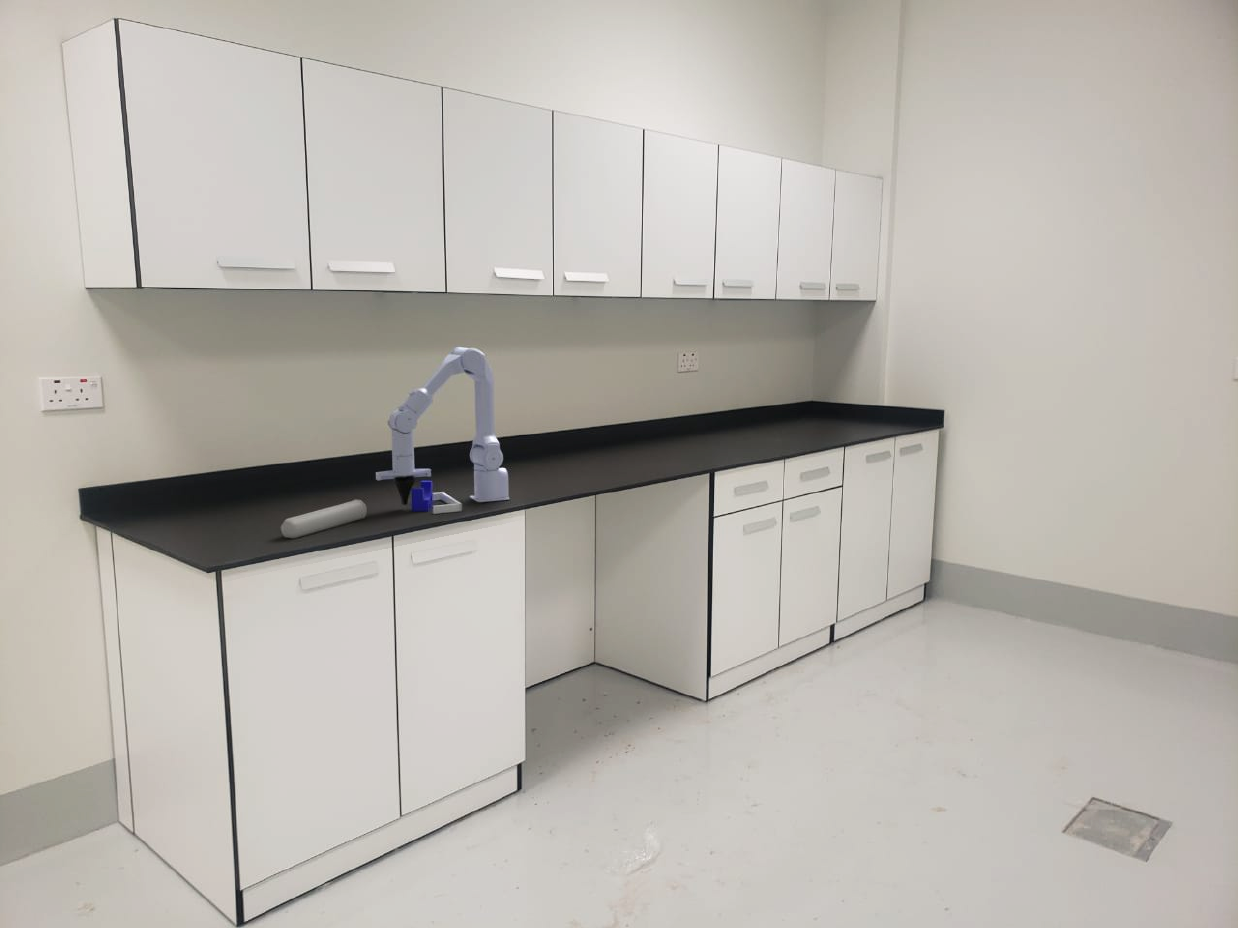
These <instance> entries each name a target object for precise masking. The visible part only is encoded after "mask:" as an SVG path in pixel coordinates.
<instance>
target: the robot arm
mask: <svg viewBox="0 0 1238 928" xmlns="http://www.w3.org/2000/svg"><path fill="white" fill-rule="evenodd" d="M493 372H494V371H493V370H492V368H491V366H490V364H489V363H488V360H487V356H486V354H485V353H484V352H482V351H480V350H479V349H478V348H475V347H470V348H469V347H463V346H457V347H455V348H453V349H452V350H451V352H450V353H449V354H448V355H446V356H445V358H444V360H443V361H442V363H441V364H440V365H439V366H438V368H437V369H436V370H435V371H434V373H433V375H432V376H431V377H430V378H429V379H428V381H427V382H425V384H424V386H423V387H422V388H416V389H414V390H411V391H410V392H409V393H408V394H409V396H408V397H407V398H406V400H405V401H404V402H403V403H402V404H399V406H398V407H397V408H398V409H397V410H394V411H393V412H391V414H390V415H389V419H388V420H387V425H388V427H389V429H391V455H392V456H391V458H392V459H391V461H392V470H385V471H377V472H375V480H377V481H382V480H392V482H394V484H395V487H396V488H397V491H398V493H399V496H400V500H401V504H402V505H404V506H407V505H408V502H409V498H410V494H411V492H412V488H413V486H414V484H415V482H416V481H415V480H416V478H421V477H422V478H423V477H432V469H430V468H415V452H414V451H415V450H414V449H415V446H414V430H415V429H416V427H417V426H418V425H417V424H418V420H419V419H420V418H421V417H422V416H423V414H424V413H426V411H427V410H428V409H429V407H430V406H431V405H432V404H433V401H434V399H433V396H434V395H435V394H436V393H437V392H438V390H440V389H441V388H442V387H443V386H444V385H445V383H447V381H449V379H450V378H451V377H452V376H456V375H459V374H464V373H465V374H466V375H467V376H468V377H470V378H471V379H472V380H473V381H474V383H473V384H474V410H475V412H474V413H475V419H474V420H475V436H474V438H473V440H472V445H471V449H470V452H469V458H470V462H472V463H473V479H474V480H473V483H474V487H473V489H474V490H473V491H474V495H470V496H469V498H470V499H472V500H473V501H475V502H478V503H483V502H484V503H485V502H495V501H497V502H498V501H506V500H510V497H509V474H508V471H507V468H505V467H500V466H501V465H502V464H503V461H504V454H503V452H502V450H501V443H500V442H499V440H498V439H497V437H496V432H495V431H496V430H495V427H496V425H495V422H496V421H495V391H494V390H495V389H494V388H495V387H494V386H495V385H494V384H495V383H494V379H495V378H494V373H493Z"/></svg>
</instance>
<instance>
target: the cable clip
mask: <svg viewBox="0 0 1238 928" xmlns="http://www.w3.org/2000/svg"><path fill="white" fill-rule="evenodd" d="M433 484H434V483H433V480H421V481H420V487H412V488H411V511H412V512H413V511H414V512H420V511H421V512H429V511H430V510H431V509H433V506H434V500H433V493H434V492H433Z"/></svg>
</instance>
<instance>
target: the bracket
mask: <svg viewBox="0 0 1238 928" xmlns="http://www.w3.org/2000/svg"><path fill="white" fill-rule="evenodd" d="M433 501H443V502H444V503H446V504H440V505H433V507H432V514H434V515H435V514H446V513H456V512H462V511H463V503H461V502H460V501H459V500H456V499H455V498H454V497H452V496H451V495H448V494H447V493H445V492H444V491H442V492H441V491H440V492H433Z"/></svg>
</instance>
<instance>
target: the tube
mask: <svg viewBox="0 0 1238 928" xmlns="http://www.w3.org/2000/svg"><path fill="white" fill-rule="evenodd" d="M367 509H368V508H367V504H366V503H364V502H363V501H362V500H361V499H356V498H355V499H353V500H352V501H347V502H344V503H341V504H338V505H337V504H336V505H333V506H330V507H325V508H322V509H318V510H315V511H310V512H307V513H304V514H300V515H297V516H293V517H289V518H286V519H285V520H284V521H283V523H282V524H281V526H280V530H281V533H282V535H283V537H284V538H287V539H288V538H289V539H296V538H301V537H303V536H307V535H310V534H313V533H317V532H321V531H325V530H329V529H331V528H335V527H338V526H342V525H345V524H349V523H351V522H355V521H359V520H363V519H365V517H366V515H367V513H368V512H367Z"/></svg>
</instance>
